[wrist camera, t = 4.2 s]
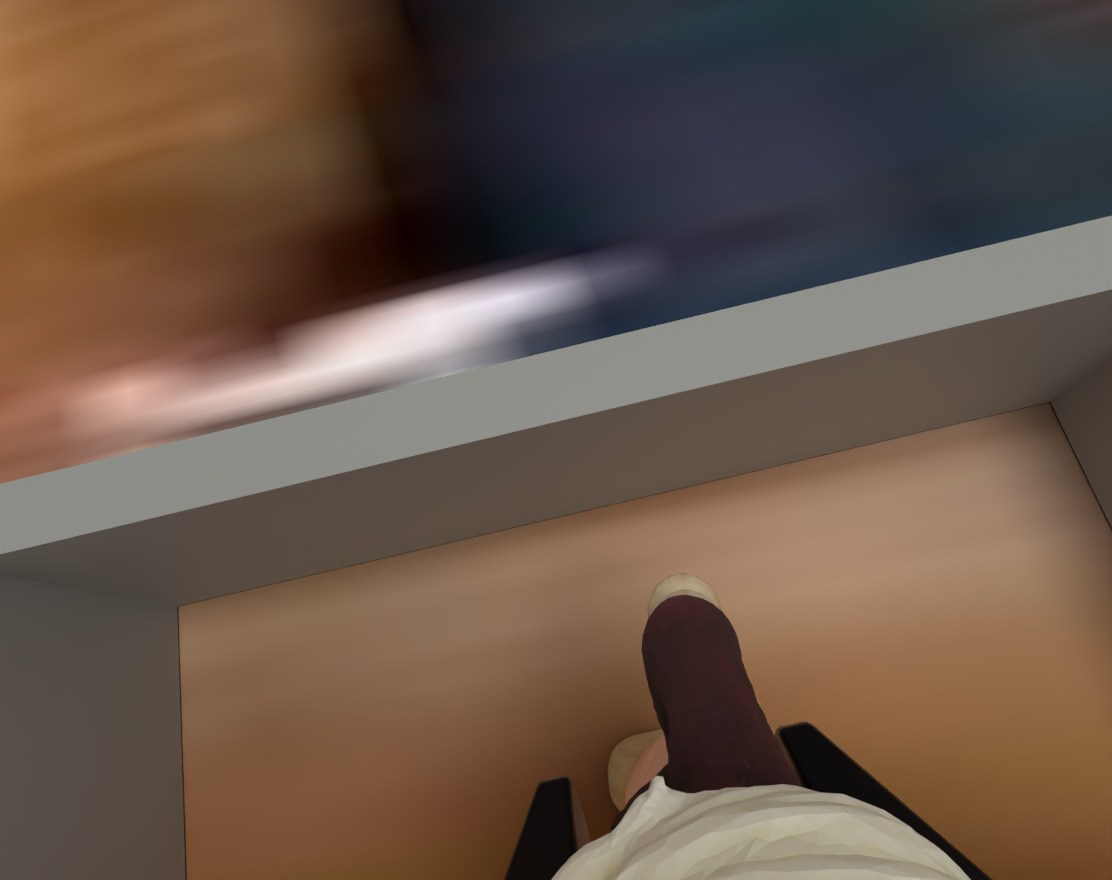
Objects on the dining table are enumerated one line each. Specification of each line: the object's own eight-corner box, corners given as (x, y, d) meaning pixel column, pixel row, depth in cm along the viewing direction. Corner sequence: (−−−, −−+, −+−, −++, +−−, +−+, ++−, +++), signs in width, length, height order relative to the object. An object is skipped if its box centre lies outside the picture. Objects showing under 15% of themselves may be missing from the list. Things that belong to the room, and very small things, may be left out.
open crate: (1463, 1086, 12) (2192, 1438, 6) (134, 1355, 13) (-264, 1885, 7) (1078, 343, 17) (1300, 169, 11) (128, 568, 18) (-114, 511, 12)
